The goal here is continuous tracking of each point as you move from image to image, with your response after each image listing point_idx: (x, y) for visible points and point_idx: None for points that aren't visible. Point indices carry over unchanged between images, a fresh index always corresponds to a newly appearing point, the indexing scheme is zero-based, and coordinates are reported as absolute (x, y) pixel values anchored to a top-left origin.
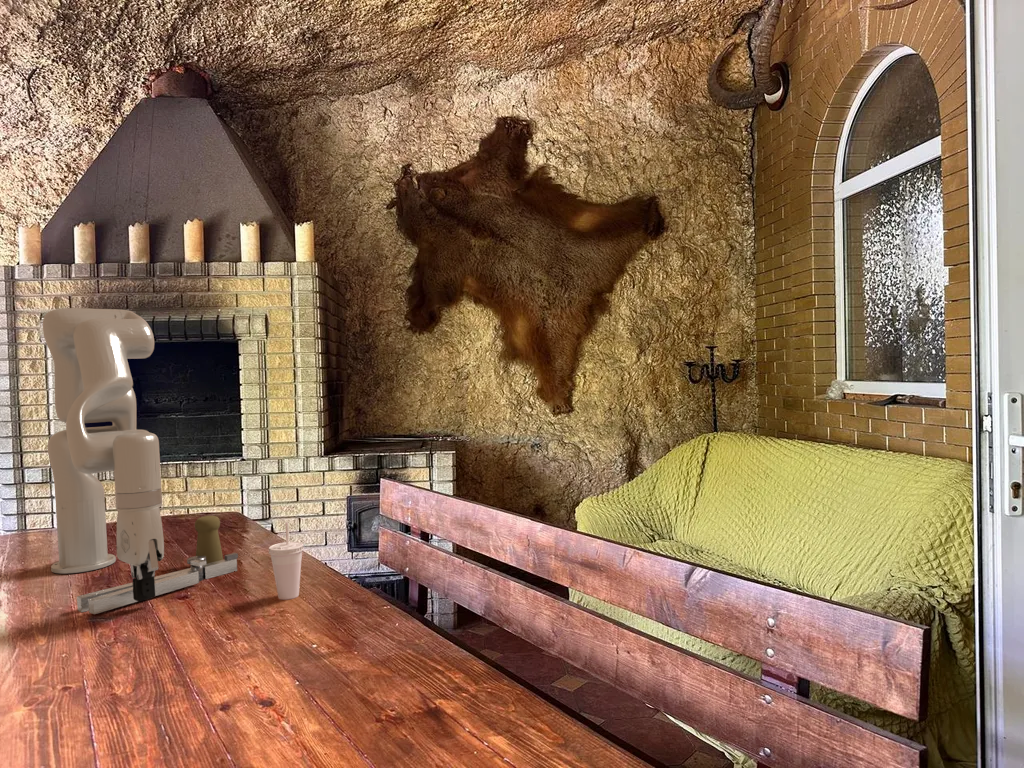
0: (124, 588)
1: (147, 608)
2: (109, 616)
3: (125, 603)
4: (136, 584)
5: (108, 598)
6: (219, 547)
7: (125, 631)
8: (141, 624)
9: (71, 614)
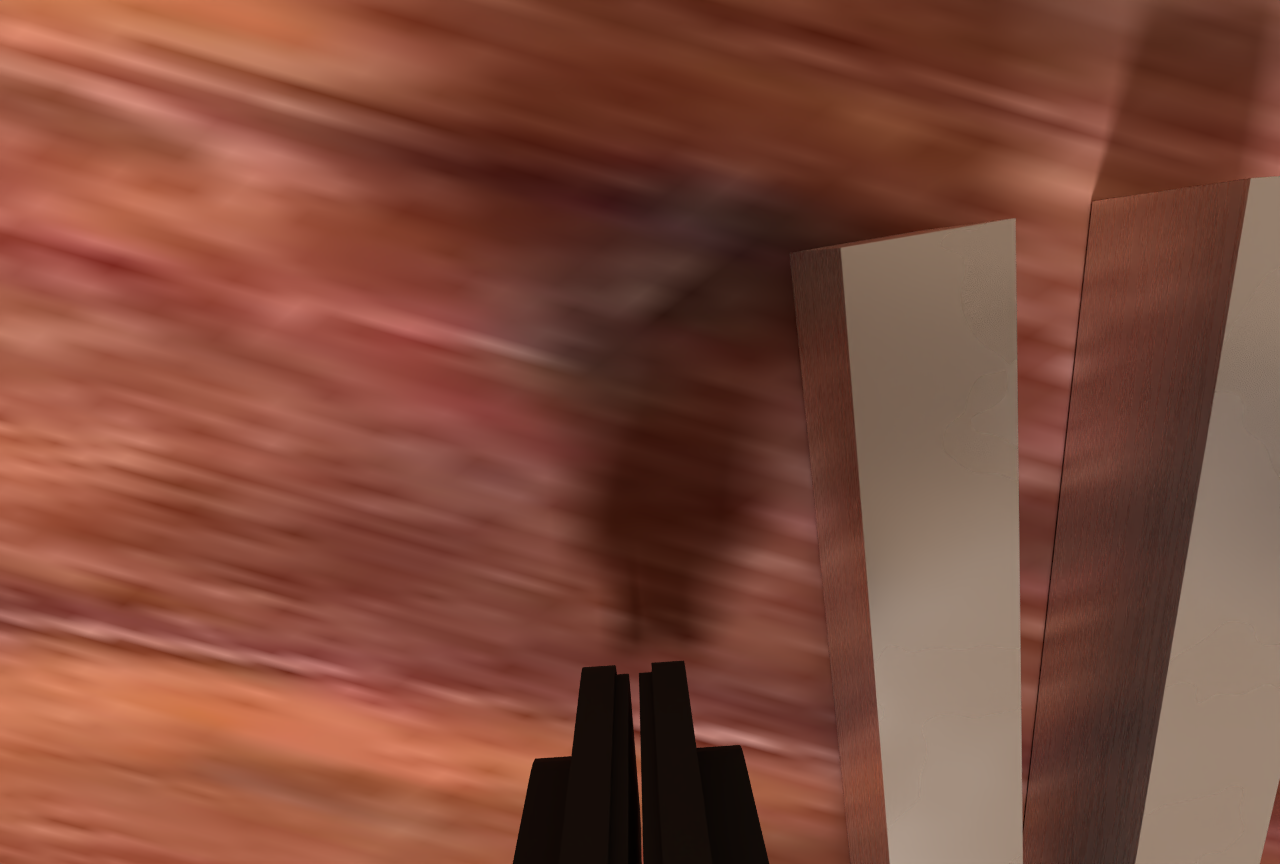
0: (1149, 708)
1: None
2: (670, 372)
3: (826, 582)
4: (567, 839)
5: (846, 448)
6: None
7: (24, 337)
8: (142, 505)
9: (1139, 97)
